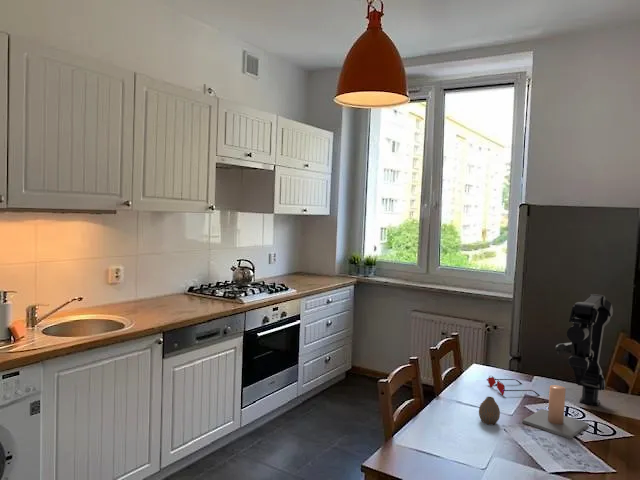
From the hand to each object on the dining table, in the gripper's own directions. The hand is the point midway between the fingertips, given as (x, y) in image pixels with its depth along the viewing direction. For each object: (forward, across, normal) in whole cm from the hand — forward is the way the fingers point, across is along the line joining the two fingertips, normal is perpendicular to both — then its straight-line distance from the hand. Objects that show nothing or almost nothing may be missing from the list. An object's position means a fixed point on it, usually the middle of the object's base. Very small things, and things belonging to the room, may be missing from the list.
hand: (579, 380), depth 186 cm
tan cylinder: (+12, +14, -5) cm, 19 cm away
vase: (+13, +28, -24) cm, 39 cm away
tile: (+13, +14, -5) cm, 20 cm away
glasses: (+14, -12, -26) cm, 32 cm away
